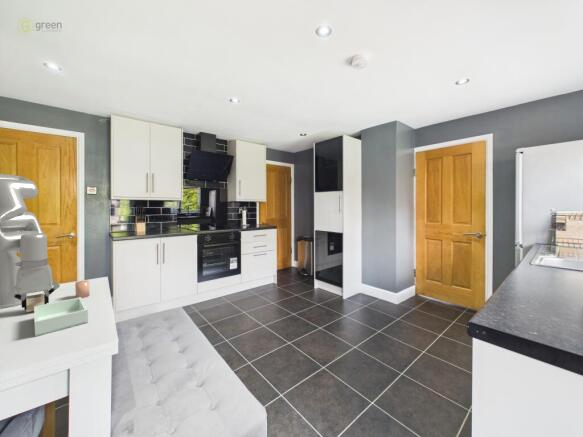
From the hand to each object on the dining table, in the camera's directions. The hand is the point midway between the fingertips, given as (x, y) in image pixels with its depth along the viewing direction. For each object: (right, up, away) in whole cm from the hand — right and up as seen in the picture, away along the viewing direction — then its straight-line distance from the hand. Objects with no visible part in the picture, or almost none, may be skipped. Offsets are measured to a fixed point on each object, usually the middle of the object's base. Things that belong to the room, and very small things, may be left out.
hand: (35, 306), depth 100 cm
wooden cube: (0, -1, 0) cm, 1 cm away
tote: (+18, -2, -8) cm, 20 cm away
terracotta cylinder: (+6, -1, +16) cm, 17 cm away
